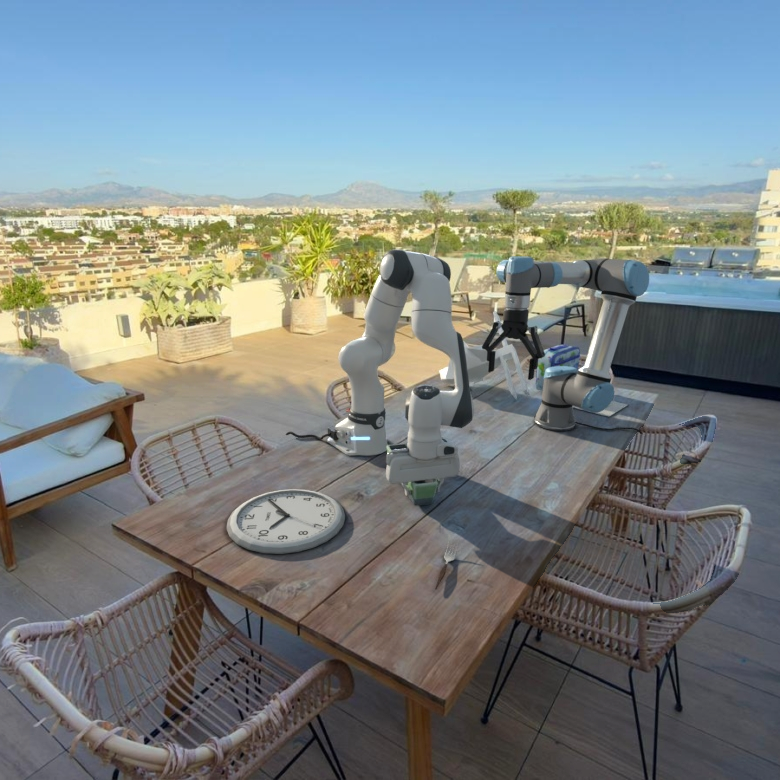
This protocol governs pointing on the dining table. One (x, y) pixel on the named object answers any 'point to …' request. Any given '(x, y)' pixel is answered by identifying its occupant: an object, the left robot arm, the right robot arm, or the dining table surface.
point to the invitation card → (610, 408)
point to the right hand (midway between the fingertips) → (510, 375)
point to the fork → (448, 558)
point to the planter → (418, 485)
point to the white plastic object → (487, 364)
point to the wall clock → (285, 521)
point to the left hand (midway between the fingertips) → (422, 493)
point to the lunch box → (556, 361)
